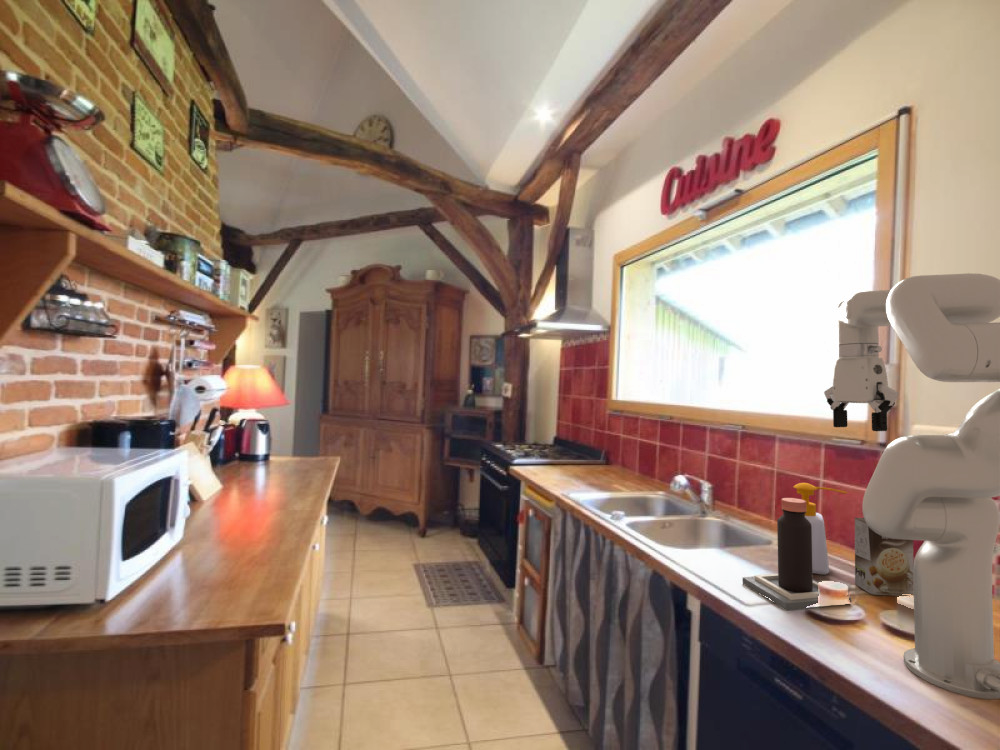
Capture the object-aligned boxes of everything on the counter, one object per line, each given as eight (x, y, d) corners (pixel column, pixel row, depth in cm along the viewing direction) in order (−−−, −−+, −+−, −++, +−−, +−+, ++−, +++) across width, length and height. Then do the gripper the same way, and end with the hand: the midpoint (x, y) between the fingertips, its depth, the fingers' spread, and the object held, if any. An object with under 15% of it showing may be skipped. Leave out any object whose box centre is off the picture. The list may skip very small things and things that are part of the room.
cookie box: (872, 595, 109) (870, 525, 109) (854, 584, 115) (852, 517, 116) (915, 597, 108) (913, 526, 108) (895, 585, 115) (893, 518, 115)
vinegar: (808, 583, 112) (806, 498, 113) (816, 595, 106) (814, 504, 106) (775, 579, 114) (774, 495, 115) (781, 591, 108) (780, 502, 108)
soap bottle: (851, 581, 117) (849, 490, 118) (785, 569, 124) (783, 484, 125) (847, 568, 125) (845, 483, 126) (785, 558, 132) (784, 478, 133)
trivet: (850, 604, 105) (850, 593, 105) (786, 610, 102) (785, 599, 102) (800, 579, 118) (800, 569, 118) (742, 583, 116) (742, 573, 116)
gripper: (910, 350, 100) (912, 432, 99) (839, 355, 117) (840, 425, 116) (879, 349, 98) (881, 433, 98) (812, 355, 115) (813, 426, 115)
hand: (859, 428), depth 107 cm, fingers open, 9 cm apart
